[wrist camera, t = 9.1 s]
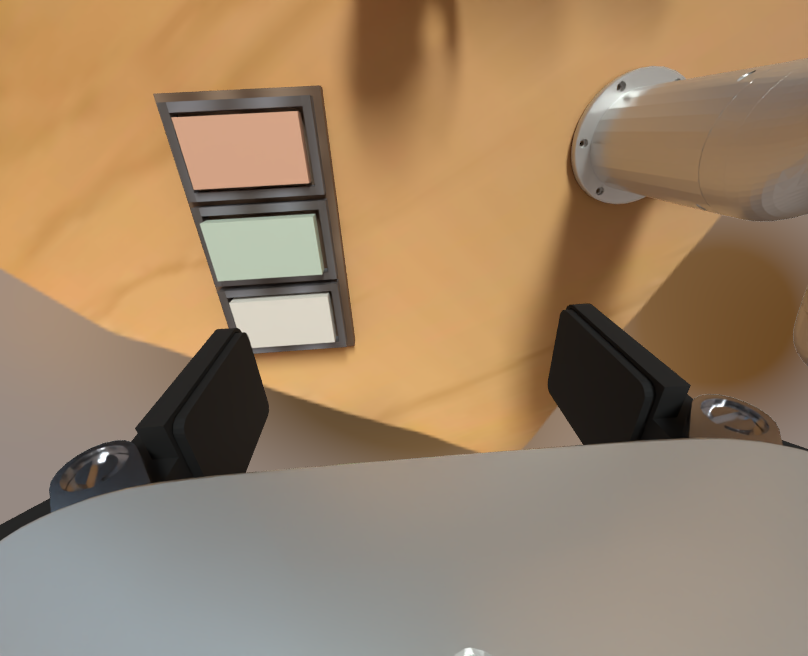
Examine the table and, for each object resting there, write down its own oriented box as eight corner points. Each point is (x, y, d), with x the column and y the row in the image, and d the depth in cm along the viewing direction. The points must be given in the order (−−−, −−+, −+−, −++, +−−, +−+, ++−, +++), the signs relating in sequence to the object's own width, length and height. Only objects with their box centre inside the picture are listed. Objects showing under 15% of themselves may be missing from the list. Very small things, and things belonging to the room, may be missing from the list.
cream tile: (329, 291, 42) (327, 296, 41) (336, 335, 45) (335, 342, 43) (234, 297, 42) (229, 303, 40) (247, 341, 44) (243, 348, 43)
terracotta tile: (300, 111, 33) (297, 111, 32) (311, 181, 36) (309, 183, 35) (180, 117, 33) (171, 117, 31) (201, 187, 36) (193, 189, 34)
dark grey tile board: (322, 87, 34) (317, 83, 32) (355, 339, 48) (353, 351, 45) (161, 95, 34) (143, 92, 31) (241, 347, 47) (232, 360, 45)
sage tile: (315, 213, 37) (312, 216, 35) (324, 269, 40) (322, 274, 38) (206, 220, 36) (199, 223, 35) (223, 275, 39) (217, 281, 38)
